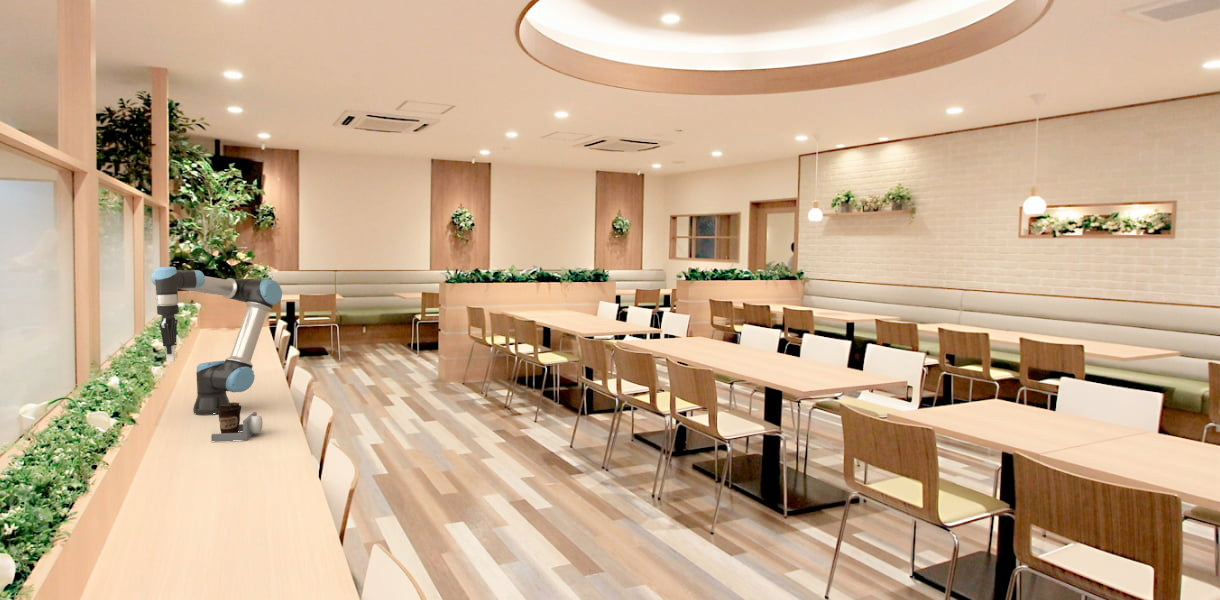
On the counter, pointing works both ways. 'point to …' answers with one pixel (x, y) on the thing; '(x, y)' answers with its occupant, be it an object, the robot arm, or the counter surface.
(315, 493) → the counter surface
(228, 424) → the coffee cup
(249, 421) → the bracket
